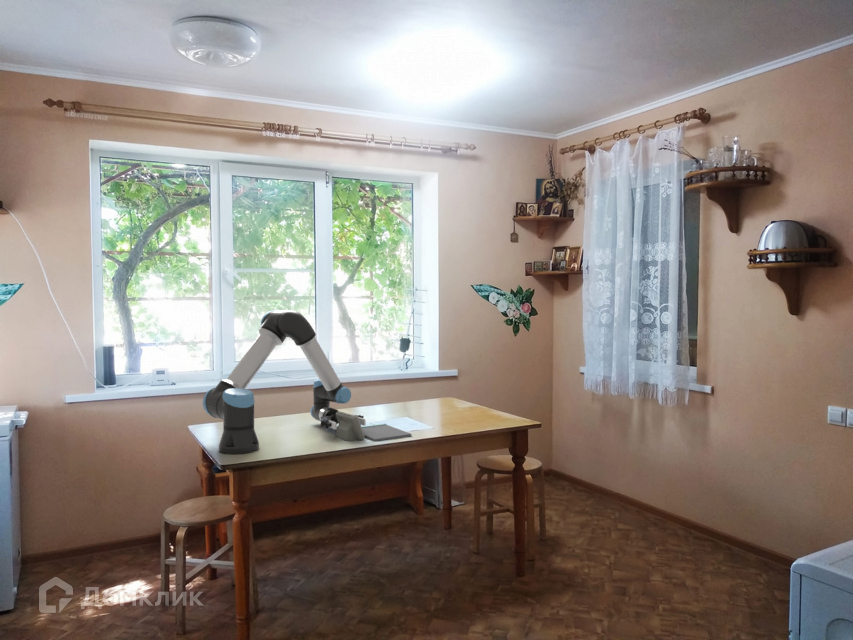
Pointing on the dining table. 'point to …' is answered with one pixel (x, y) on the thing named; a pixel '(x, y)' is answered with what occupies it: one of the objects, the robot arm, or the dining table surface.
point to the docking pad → (383, 432)
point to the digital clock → (348, 427)
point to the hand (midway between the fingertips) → (350, 424)
